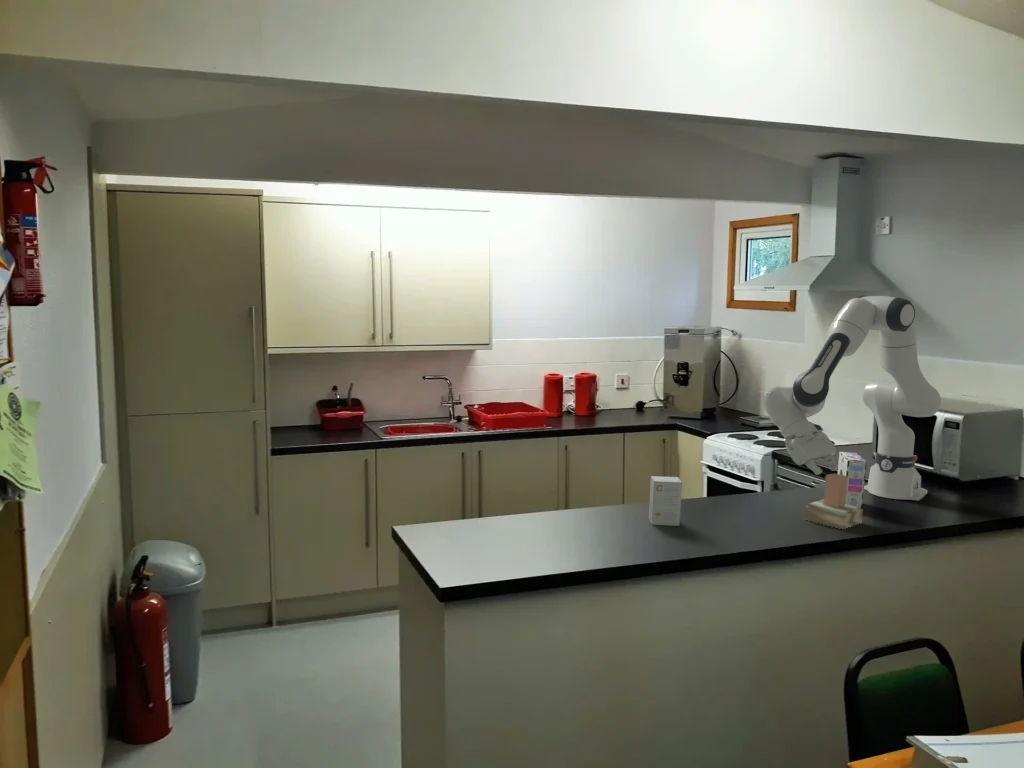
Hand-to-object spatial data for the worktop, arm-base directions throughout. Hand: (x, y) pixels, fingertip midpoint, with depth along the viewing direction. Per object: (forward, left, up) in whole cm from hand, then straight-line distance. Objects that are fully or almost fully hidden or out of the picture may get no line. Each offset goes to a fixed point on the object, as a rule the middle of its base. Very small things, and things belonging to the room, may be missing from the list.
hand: (827, 471), depth 242 cm
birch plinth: (0, +3, -15) cm, 15 cm away
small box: (+44, -26, -15) cm, 53 cm away
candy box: (-22, -3, -15) cm, 27 cm away
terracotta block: (0, +3, -10) cm, 10 cm away
